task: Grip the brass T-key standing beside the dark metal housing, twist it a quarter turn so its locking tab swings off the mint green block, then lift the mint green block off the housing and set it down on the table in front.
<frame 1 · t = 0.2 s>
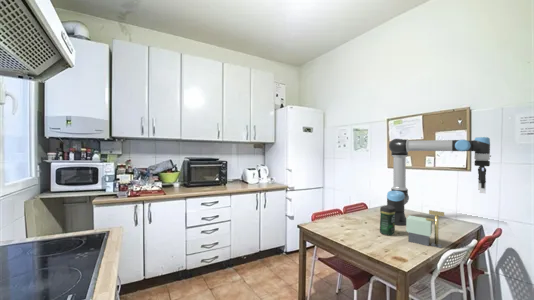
hand: (481, 191, 154), 28 cm above the table, fingers open, 13 cm apart
housing: (418, 241, 138), on the table
t key: (434, 227, 133), point 11 cm above the table, hinge at 0.0°
mint green block: (419, 232, 138), point 6 cm above the table, touching housing
coffee jar: (387, 233, 152), on the table
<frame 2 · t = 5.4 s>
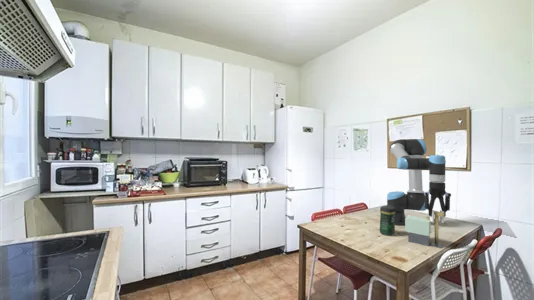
hand: (436, 221, 133), 14 cm above the table, fingers closed on t key, 4 cm apart
t key: (435, 227, 133), point 11 cm above the table, hinge at -23.6°, touching gripper
mint green block: (417, 231, 139), point 6 cm above the table
everything else where it was.
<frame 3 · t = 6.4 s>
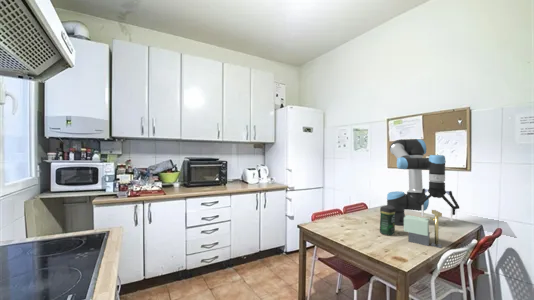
hand: (436, 218, 133), 16 cm above the table, fingers open, 13 cm apart
t key: (435, 227, 134), point 11 cm above the table, hinge at -61.1°
mint green block: (416, 231, 139), point 6 cm above the table, touching housing
everything else where it was.
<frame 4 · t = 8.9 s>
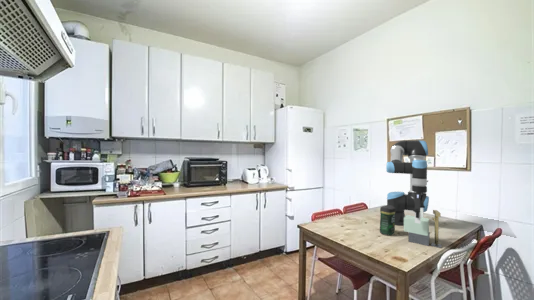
hand: (419, 220, 138), 13 cm above the table, fingers open, 13 cm apart
t key: (436, 227, 134), point 11 cm above the table, hinge at -73.6°
everything else where it was.
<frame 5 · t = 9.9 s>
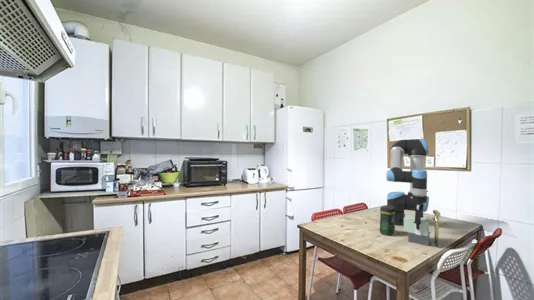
hand: (419, 232, 138), 6 cm above the table, fingers closed on mint green block, 9 cm apart
t key: (436, 227, 134), point 10 cm above the table, hinge at -74.8°
mint green block: (416, 231, 139), point 6 cm above the table, touching gripper, housing
everything else where it was.
when the fingers open (1 cm above the table, at t = 17.2 s): mint green block drops 2 cm, on the table.
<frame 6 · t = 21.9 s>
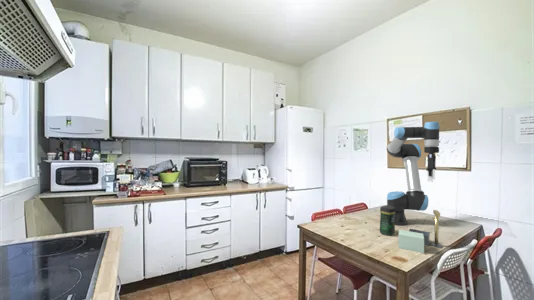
hand: (431, 180, 143), 37 cm above the table, fingers open, 13 cm apart
t key: (436, 227, 133), point 11 cm above the table, hinge at -75.9°
mint green block: (410, 248, 130), on the table
everything else where it was.
at the end: mint green block inside the target area (1.6 cm from its centre), on the table; mint green block tilted 0°; t key at -76° (first picture: +0°) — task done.
